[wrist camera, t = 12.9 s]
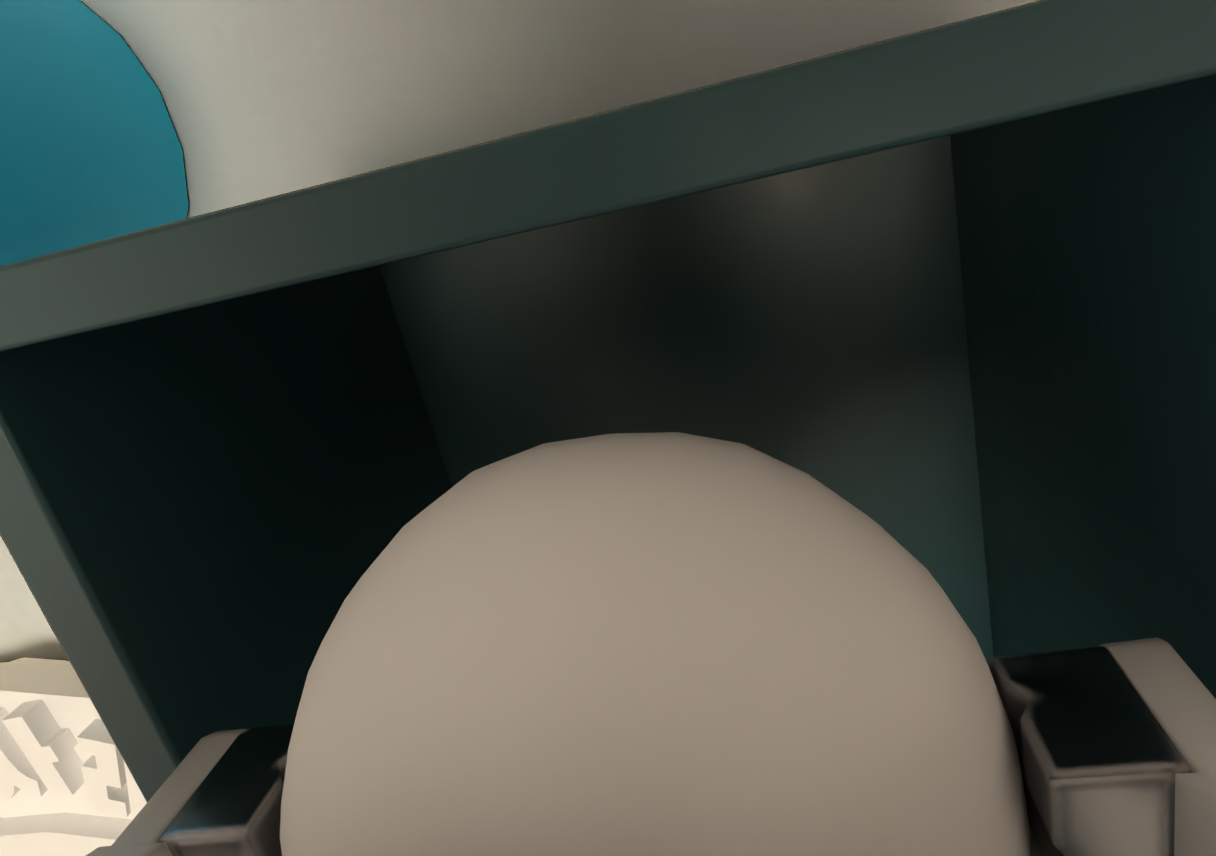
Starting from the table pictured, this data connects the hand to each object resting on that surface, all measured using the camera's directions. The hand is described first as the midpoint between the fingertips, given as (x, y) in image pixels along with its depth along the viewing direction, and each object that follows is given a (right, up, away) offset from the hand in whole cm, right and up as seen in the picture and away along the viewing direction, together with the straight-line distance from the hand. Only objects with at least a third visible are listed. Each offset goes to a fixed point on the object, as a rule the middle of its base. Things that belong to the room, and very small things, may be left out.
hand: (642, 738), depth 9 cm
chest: (+2, +2, +11) cm, 11 cm away
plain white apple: (0, +1, +3) cm, 4 cm away
